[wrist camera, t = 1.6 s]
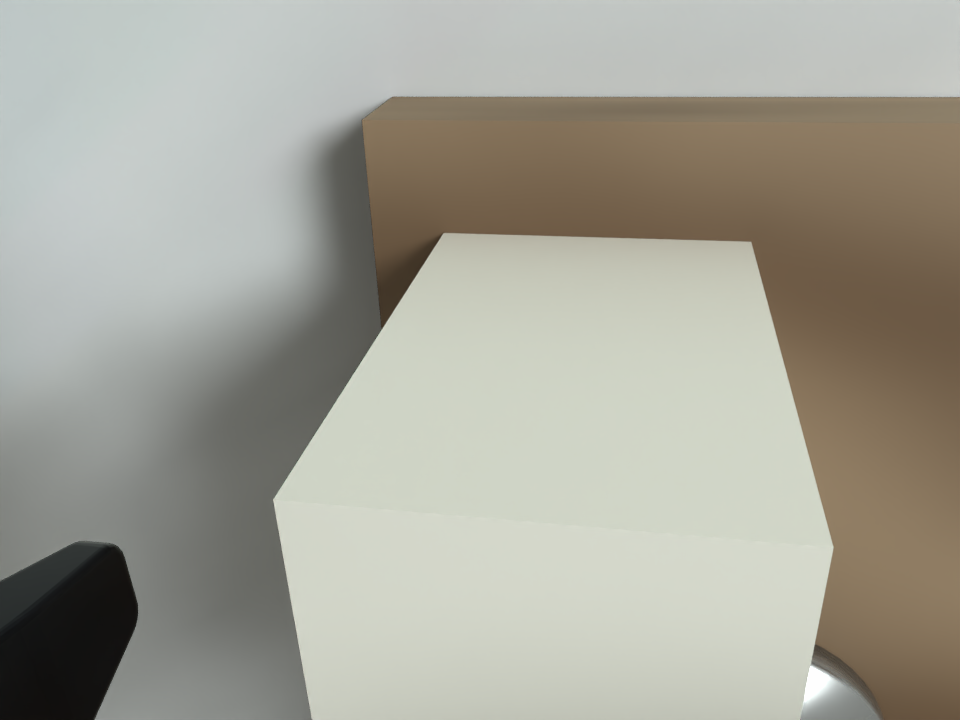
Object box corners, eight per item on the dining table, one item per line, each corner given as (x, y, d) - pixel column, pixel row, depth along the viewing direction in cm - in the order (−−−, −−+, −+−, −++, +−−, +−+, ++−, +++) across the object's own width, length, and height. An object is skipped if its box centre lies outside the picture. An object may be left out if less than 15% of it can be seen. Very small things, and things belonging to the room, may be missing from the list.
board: (1060, 1044, 20) (1089, 1125, 19) (458, 940, 22) (445, 1005, 21) (1556, 98, 10) (1690, 127, 9) (392, 97, 13) (361, 120, 11)
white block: (721, 497, 13) (763, 903, 8) (457, 477, 14) (331, 837, 8) (750, 241, 11) (833, 548, 6) (443, 233, 12) (272, 499, 7)
